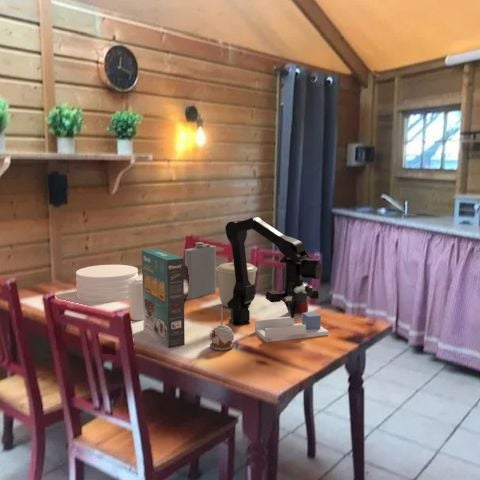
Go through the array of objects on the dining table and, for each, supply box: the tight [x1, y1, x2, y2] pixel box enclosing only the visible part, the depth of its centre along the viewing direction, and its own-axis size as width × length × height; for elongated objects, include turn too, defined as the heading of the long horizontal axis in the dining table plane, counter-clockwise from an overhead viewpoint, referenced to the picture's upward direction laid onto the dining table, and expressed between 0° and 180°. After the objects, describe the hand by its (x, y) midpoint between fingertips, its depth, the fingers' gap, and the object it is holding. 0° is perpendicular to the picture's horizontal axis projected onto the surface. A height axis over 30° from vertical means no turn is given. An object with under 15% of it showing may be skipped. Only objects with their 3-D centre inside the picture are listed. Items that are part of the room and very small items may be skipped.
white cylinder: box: [128, 279, 144, 322], centre depth 202 cm, size 7×7×15 cm
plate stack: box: [75, 264, 139, 303], centre depth 240 cm, size 28×28×12 cm
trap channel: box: [254, 316, 329, 343], centre depth 187 cm, size 24×11×4 cm, turn 108°
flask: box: [184, 241, 217, 300], centre depth 237 cm, size 17×5×25 cm, turn 137°
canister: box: [215, 259, 258, 308], centre depth 221 cm, size 18×18×21 cm
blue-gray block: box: [301, 311, 322, 330], centre depth 189 cm, size 5×5×5 cm
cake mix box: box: [141, 248, 186, 349], centre depth 180 cm, size 22×6×30 cm, turn 32°
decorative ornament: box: [209, 303, 235, 351], centre depth 172 cm, size 8×8×15 cm
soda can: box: [295, 281, 310, 315], centre depth 213 cm, size 7×7×12 cm
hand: (292, 317), depth 186 cm, fingers closed
